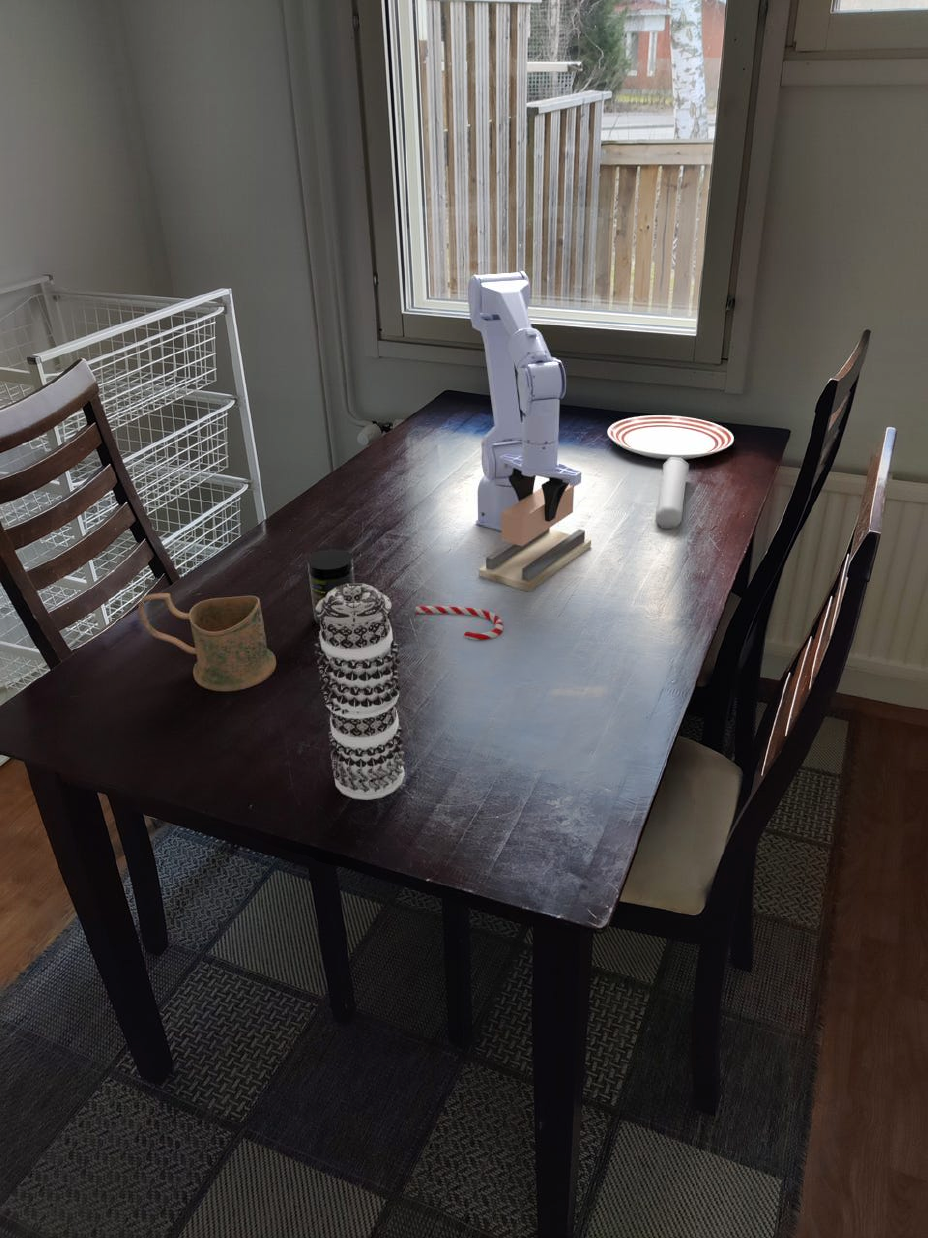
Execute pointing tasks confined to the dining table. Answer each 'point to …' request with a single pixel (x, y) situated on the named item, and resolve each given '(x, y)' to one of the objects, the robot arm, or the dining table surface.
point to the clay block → (533, 517)
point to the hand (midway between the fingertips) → (538, 516)
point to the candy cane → (468, 611)
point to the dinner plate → (670, 436)
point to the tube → (672, 493)
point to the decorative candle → (361, 690)
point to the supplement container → (328, 573)
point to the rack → (534, 559)
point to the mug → (223, 641)
